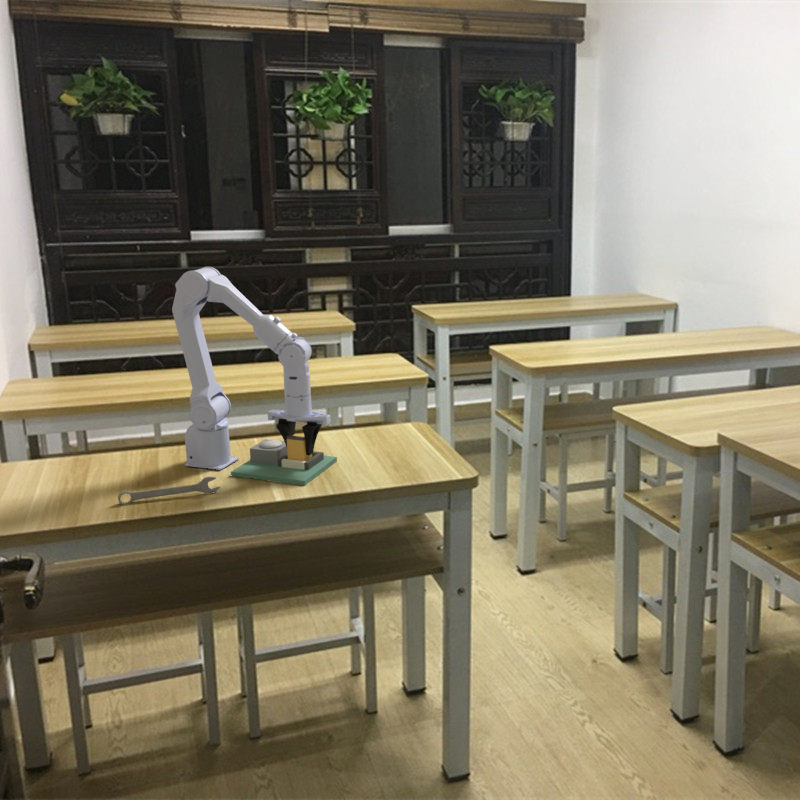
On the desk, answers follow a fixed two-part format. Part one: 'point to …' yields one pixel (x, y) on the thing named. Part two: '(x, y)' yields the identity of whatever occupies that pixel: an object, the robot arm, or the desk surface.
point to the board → (281, 464)
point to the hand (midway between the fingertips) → (300, 452)
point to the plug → (297, 448)
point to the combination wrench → (171, 491)
